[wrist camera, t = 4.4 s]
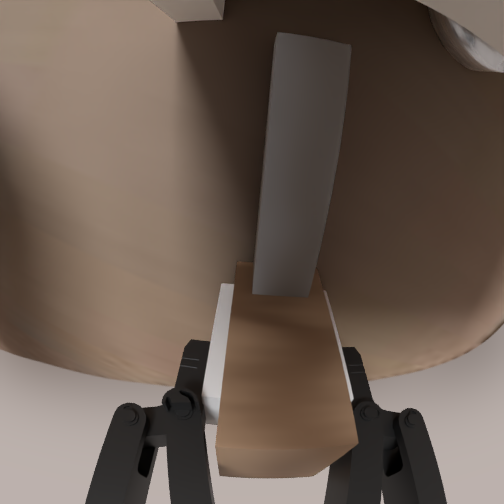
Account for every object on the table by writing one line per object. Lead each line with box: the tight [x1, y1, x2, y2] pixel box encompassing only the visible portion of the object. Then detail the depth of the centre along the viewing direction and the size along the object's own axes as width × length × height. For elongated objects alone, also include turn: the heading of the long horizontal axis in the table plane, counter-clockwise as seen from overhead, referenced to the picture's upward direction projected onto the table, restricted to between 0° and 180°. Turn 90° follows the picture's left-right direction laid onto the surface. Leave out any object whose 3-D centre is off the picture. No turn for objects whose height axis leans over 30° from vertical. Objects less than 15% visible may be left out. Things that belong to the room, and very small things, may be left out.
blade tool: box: [215, 32, 359, 478], centre depth 8 cm, size 4×15×9 cm, turn 175°
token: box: [428, 7, 504, 73], centre depth 5 cm, size 5×5×2 cm
